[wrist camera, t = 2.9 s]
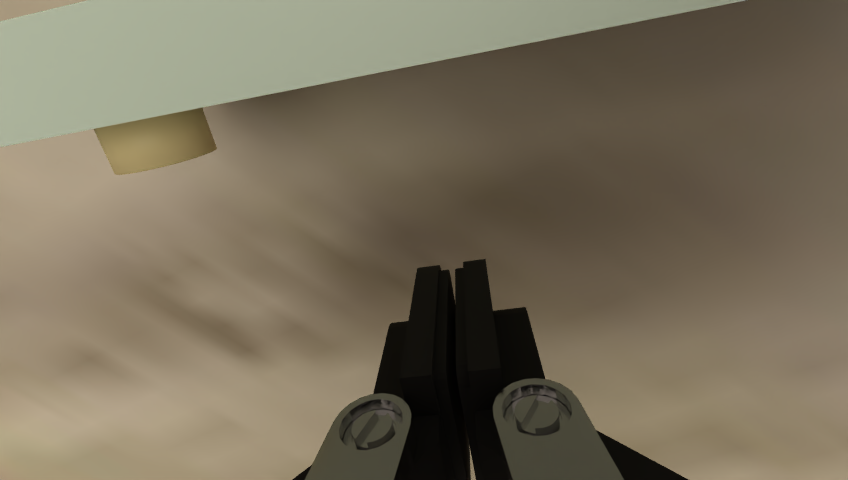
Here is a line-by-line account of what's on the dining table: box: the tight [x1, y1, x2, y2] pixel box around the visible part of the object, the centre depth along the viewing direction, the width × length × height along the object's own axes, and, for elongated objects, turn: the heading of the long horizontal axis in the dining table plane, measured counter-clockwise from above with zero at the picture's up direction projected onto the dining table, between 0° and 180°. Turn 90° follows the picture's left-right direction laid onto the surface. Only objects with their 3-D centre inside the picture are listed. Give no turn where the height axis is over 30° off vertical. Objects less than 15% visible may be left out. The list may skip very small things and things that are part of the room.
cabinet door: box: [0, 0, 746, 175], centre depth 9 cm, size 2×22×11 cm, turn 101°
